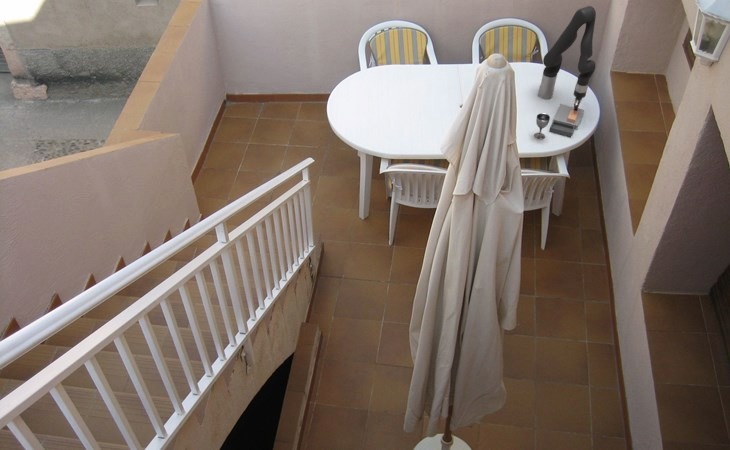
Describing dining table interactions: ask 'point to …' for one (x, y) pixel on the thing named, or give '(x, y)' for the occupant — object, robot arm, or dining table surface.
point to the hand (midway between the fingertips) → (575, 111)
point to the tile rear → (574, 112)
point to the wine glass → (541, 124)
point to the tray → (561, 128)
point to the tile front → (571, 118)
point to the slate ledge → (564, 113)
